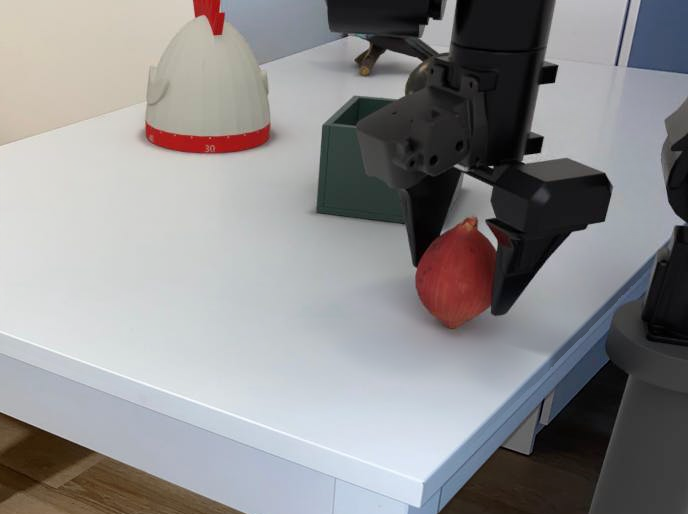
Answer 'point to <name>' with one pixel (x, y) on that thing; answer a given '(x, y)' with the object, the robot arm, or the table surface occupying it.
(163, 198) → the table surface
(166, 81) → the kitchen timer
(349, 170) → the open green box
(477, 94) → the robot arm
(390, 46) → the bird figurine
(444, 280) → the onion
